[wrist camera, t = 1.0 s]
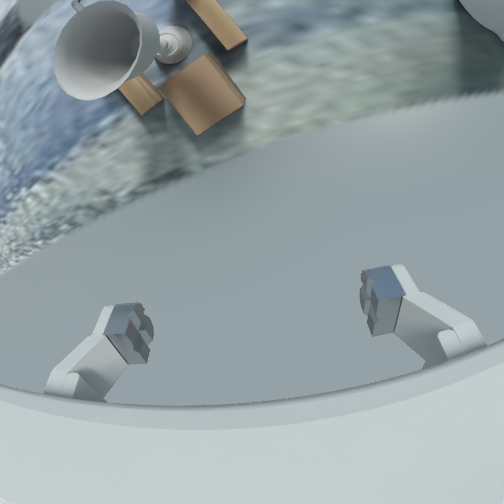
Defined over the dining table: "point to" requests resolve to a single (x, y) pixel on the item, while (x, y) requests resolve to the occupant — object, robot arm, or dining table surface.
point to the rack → (219, 23)
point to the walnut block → (203, 93)
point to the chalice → (112, 48)
